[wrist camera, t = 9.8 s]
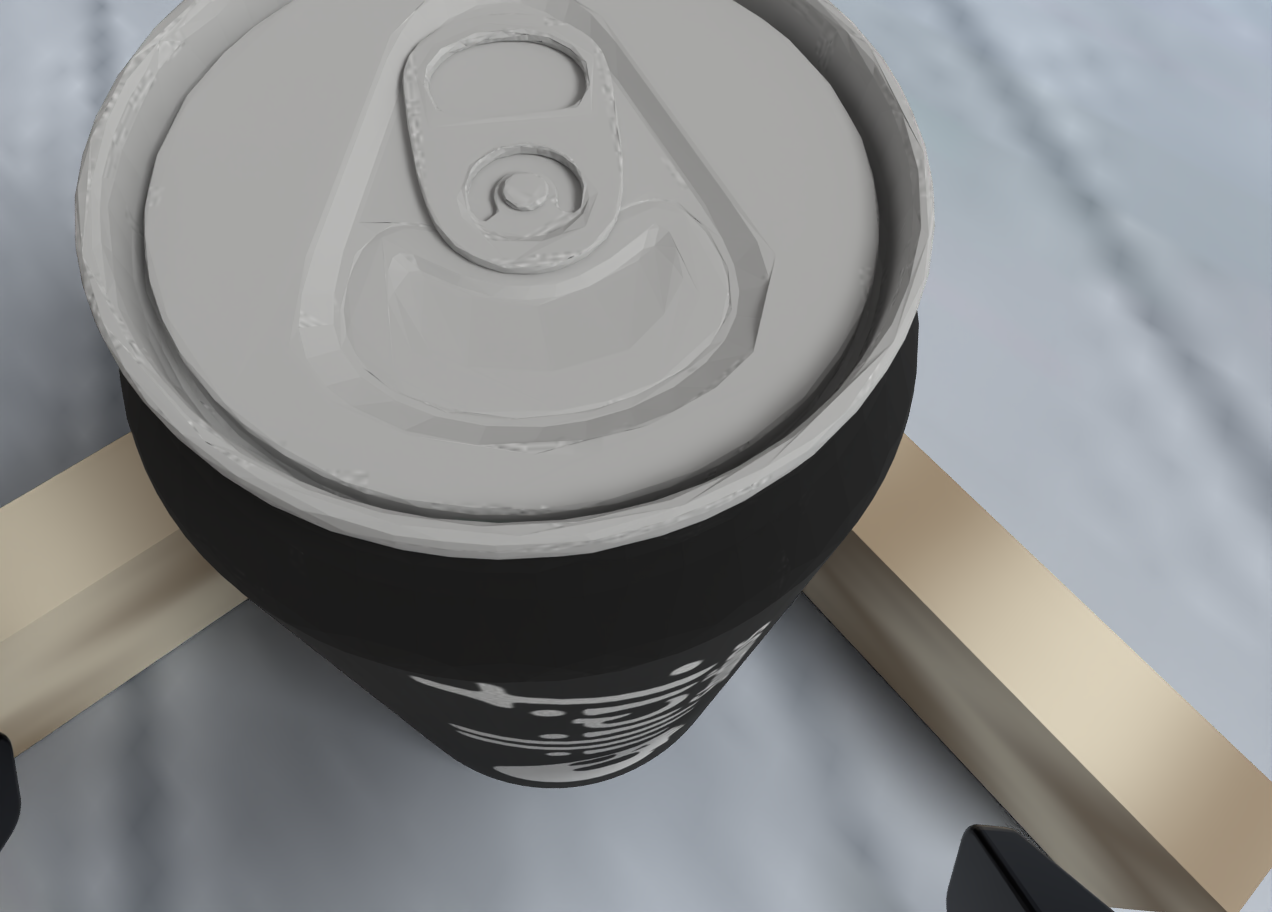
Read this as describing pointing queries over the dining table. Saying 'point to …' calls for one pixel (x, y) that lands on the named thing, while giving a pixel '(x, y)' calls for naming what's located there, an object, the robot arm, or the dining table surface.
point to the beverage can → (513, 337)
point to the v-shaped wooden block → (843, 591)
